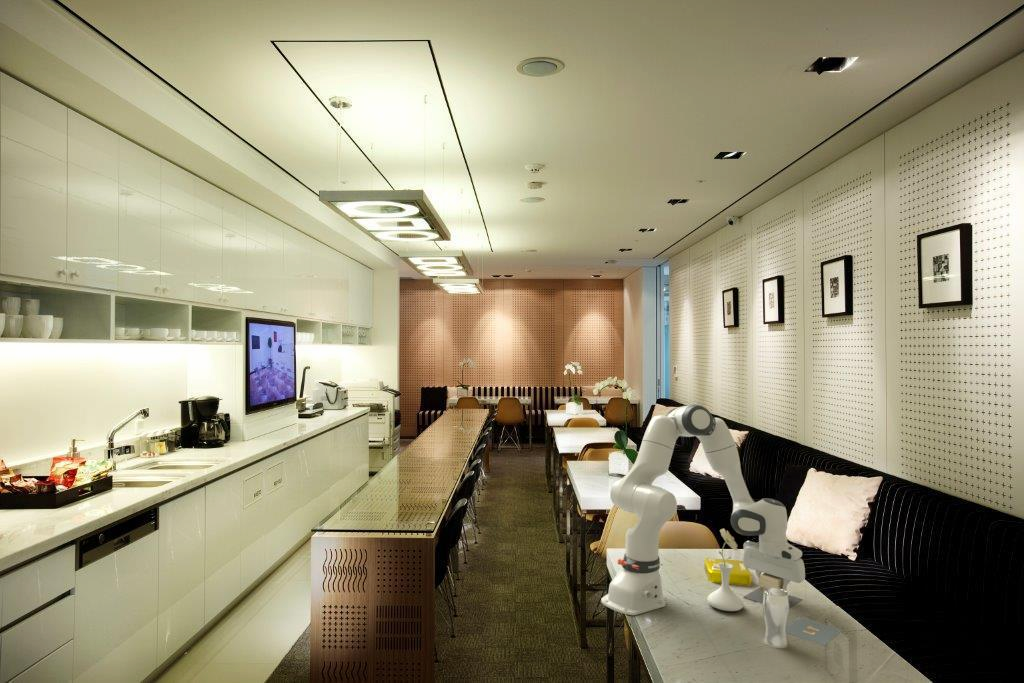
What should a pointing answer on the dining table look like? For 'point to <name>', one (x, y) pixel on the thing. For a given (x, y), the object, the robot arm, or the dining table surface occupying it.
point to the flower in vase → (725, 582)
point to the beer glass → (775, 616)
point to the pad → (758, 597)
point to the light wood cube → (770, 581)
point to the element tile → (737, 574)
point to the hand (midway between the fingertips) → (772, 587)
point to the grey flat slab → (812, 631)
